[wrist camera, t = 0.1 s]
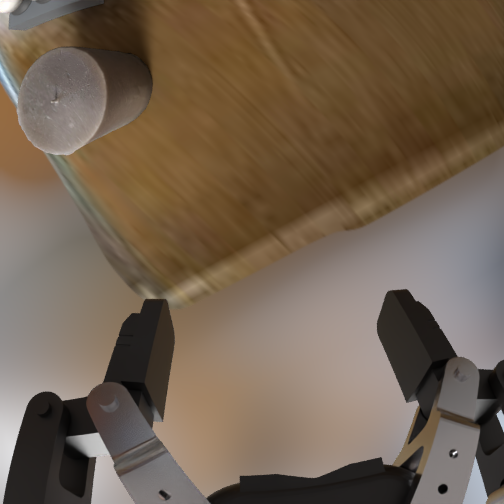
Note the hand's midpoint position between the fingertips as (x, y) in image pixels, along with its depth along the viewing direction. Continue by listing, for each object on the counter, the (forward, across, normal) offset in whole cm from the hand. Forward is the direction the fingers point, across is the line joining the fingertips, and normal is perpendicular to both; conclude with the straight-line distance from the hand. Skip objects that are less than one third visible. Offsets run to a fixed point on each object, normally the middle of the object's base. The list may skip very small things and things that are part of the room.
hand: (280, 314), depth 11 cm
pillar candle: (+30, +16, -8) cm, 35 cm away
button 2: (+23, +28, -23) cm, 43 cm away
